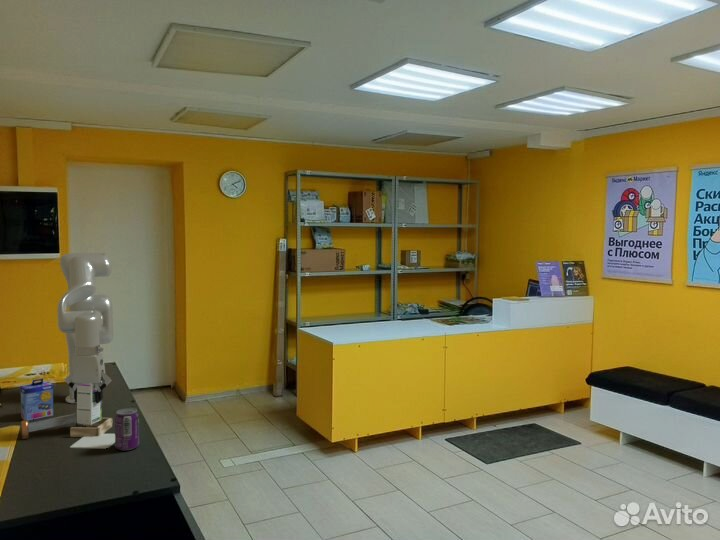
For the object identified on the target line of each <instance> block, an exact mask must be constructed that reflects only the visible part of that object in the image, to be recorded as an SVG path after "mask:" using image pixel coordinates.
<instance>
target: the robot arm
mask: <svg viewBox="0 0 720 540" xmlns="http://www.w3.org/2000/svg"><path fill="white" fill-rule="evenodd" d="M59 263H60V264H59V265H60V269H61V272H62V274H63V277H64V278H65V280H66V283H67V289H68V290H67V291H66V292H65V293H64V294H63V295H62V297H60V299H59V302H58V304H57V312H56V313H57V327H58V329H59V331H60V332H61V333H64V334H65V339H66V343H67V344H66V345H67V351H68V375H67V376H66V377H65V378H64V382H65V383H66V384H68V386H69V395H67V396H66V397H65V402H66V403H68V404H77V386H78V384H90V383H92V384H94V385H95V387H96V389H97V392H96V403H99V402H100V401H102V402H103V399H104V396H103V395H104V392H103V391H104V389H105V388H106V387H107V386H108V385H109V384H110V383H111V382H112V380H113V379H111V377H110V376H108V375H107V374H106V366H105V361H104V356H103V353H101V352H103V351H104V347H101V346H100V345H107V344H110V343H111V342H113V339H114V317H113V314H114V311H113V302H112V299H111V297H110V296H109V295H107V294H95V292H96V290H97V284H96V278H102V277H103V278H104V277H105V278H107V277H109V276H110V275H111V274H112V269H113V268H112V266H113V265H112V260H111V258H110V256H109V255H108V253H105V252H87V253H86V252H73V253H72V252H70V253H66V254H63V255H61V257H60V260H59ZM67 309H68V311H67ZM101 381H102V382H101ZM103 381H104V382H103Z"/></svg>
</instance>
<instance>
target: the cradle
mask: <svg viewBox="0 0 720 540" xmlns="http://www.w3.org/2000/svg"><path fill="white" fill-rule="evenodd" d="M85 426H86V427H85ZM112 427H114V417H102V420H101V421H99V422H96V423H94V424H92V425H85V424H84V426H82V427H75V426H71V427H70V428H69V430H70V431H69V435H70V438H82V437H84V436H99V435H101V434H106V432H107V431H109V430H110V429H111V428H112Z"/></svg>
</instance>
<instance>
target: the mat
mask: <svg viewBox="0 0 720 540" xmlns="http://www.w3.org/2000/svg"><path fill="white" fill-rule="evenodd" d="M113 444H115V433H104V434H101V435H99V436H84V437H80V439H79V440H77V441H76V442H74V443H72V445H70V446H69V448H70V449H104V450H105V449H106V448H108V449H109V448H110V447H111V446H112V445H113ZM106 450H107V449H106Z"/></svg>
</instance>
